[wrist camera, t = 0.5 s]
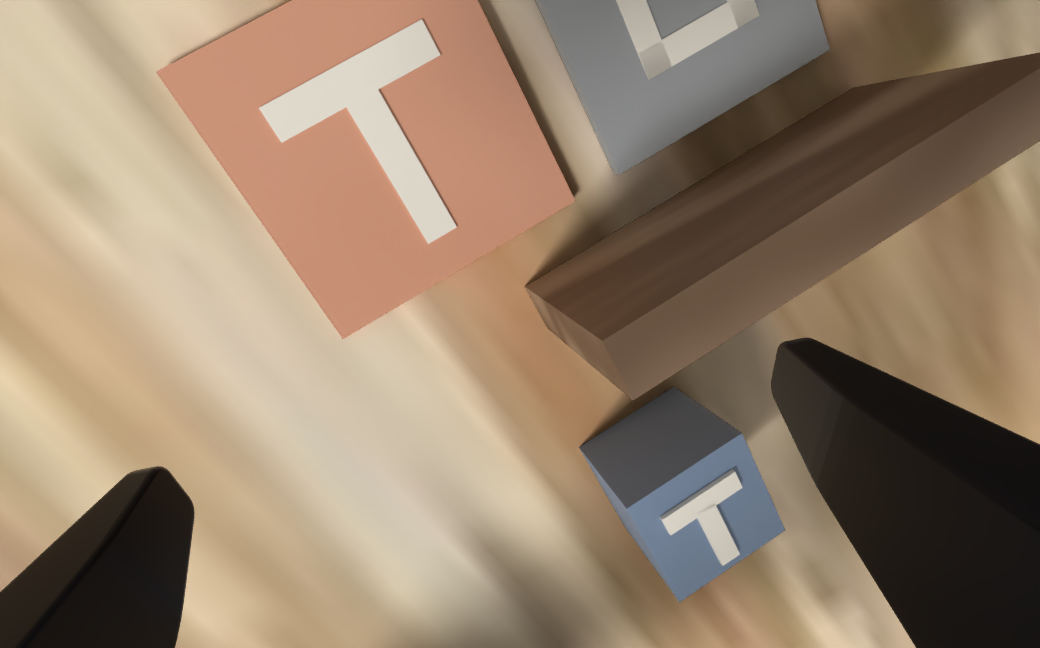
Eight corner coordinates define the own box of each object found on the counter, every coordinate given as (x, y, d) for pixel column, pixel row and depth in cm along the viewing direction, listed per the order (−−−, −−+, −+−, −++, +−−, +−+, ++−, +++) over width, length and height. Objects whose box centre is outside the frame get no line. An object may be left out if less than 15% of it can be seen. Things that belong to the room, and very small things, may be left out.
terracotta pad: (571, 200, 22) (576, 200, 22) (343, 335, 21) (342, 339, 21) (437, -72, 19) (440, -80, 18) (161, 74, 18) (154, 71, 17)
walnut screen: (866, 132, 25) (1085, 111, 17) (547, 328, 23) (633, 400, 16) (853, 87, 24) (1075, 46, 16) (524, 286, 22) (602, 340, 15)
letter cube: (713, 468, 27) (788, 533, 22) (624, 527, 27) (681, 605, 22) (673, 385, 25) (745, 435, 20) (578, 446, 25) (629, 511, 20)
